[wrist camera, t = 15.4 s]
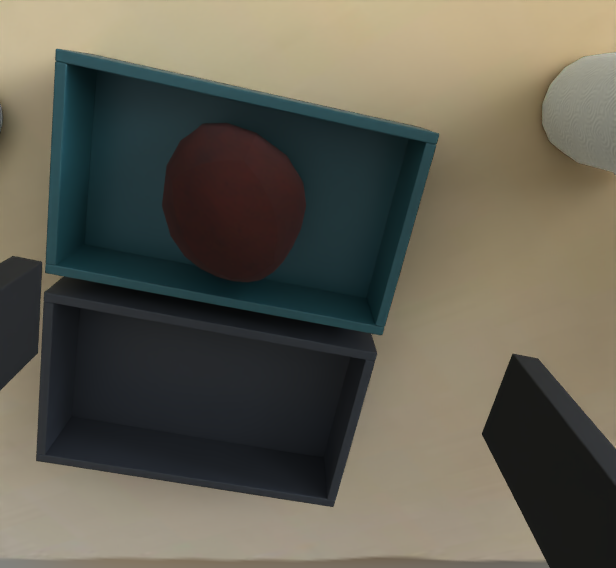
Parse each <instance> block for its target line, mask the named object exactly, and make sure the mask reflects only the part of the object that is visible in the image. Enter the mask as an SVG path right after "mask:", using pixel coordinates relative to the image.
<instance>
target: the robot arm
mask: <svg viewBox="0 0 616 568" xmlns="http://www.w3.org/2000/svg"><path fill="white" fill-rule="evenodd" d="M41 278H42V262H41V261H36V260H31V259H25V258H20V257H15V256H12V257H10V258H8V259H7V260H5V261H3V262H2V263H0V390H1V389H2V388H3V387H4V386H5V385H6V384H7V383H8V382H9V381H10V380H11V379H12V378H13V377H14V376H15V375H16V374H17V373H18V372H19V371H20V370H21V369H22V368H23V367H24V366H25V365H26V364H27V363H28V362H29V361H30V360H31V359H32V358H33V357H34V356H35V355H36V354H37V353H38V341H39V320H40V299H41ZM482 435H483V437H484V439H485V441H486V443H487V445H488V447H489V449H490V451H491V453H492V455H493V457H494V459H495V461H496V463H497V465H498V467H499V469H500V471H501V473H502V475H503V477H504V479H505V481H506V483H507V485H508V487H509V489H510V490H511V492H512V494H513V496H514V498H515V500H516V502H517V504H518V506H519V508H520V510H521V512H522V514H523V516H524V518H525V520H526V522H527V524H528V526H529V528H530V530H531V532H532V534H533V536H534V538H535V540H536V542H537V544H538V546H539V547H540V549H541V551H542V553H543V555H544V557H545V559H546V561H547V563H548V565H549V567H550V568H616V449H615V448H614V447H613V445H612V444H611V443H610V442H609V441H608V440H607V438H606V437H605V436H604V435H603V434H602V433H601V431H600V430H599V429H598V428H597V427H596V425H595V424H594V423H593V422H592V421H591V420H590V418H589V417H588V416H587V415H586V414H585V413H584V411H583V410H582V409H581V408H580V407H579V406H578V404H577V403H576V402H575V401H574V400H573V399H572V397H571V396H570V395H569V394H568V393H567V392H566V390H565V389H564V388H563V387H562V386H561V385H560V383H559V382H558V381H557V380H556V379H555V378H554V376H553V375H552V374H551V373H550V372H549V371H548V369H547V368H546V367H545V366H544V365H543V364H542V362H541V361H540V360H539V359H538V358H533V357H528V356H522V355H517V354H512V356H511V359H510V362H509V364H508V367H507V369H506V372H505V375H504V377H503V380H502V383H501V385H500V388H499V390H498V393H497V396H496V398H495V401H494V403H493V406H492V409H491V411H490V414H489V416H488V419H487V422H486V424H485V427H484V429H483V432H482Z"/></svg>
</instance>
